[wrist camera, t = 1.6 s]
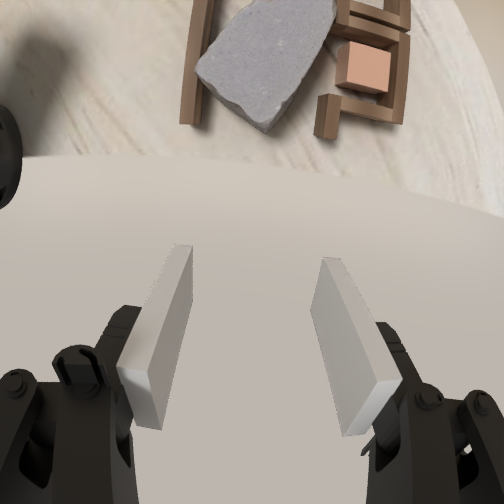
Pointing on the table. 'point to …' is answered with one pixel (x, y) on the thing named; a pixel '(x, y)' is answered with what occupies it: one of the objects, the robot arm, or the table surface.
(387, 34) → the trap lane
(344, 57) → the cube
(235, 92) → the decorative stone
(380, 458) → the robot arm
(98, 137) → the table surface
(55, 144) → the table surface
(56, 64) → the table surface
